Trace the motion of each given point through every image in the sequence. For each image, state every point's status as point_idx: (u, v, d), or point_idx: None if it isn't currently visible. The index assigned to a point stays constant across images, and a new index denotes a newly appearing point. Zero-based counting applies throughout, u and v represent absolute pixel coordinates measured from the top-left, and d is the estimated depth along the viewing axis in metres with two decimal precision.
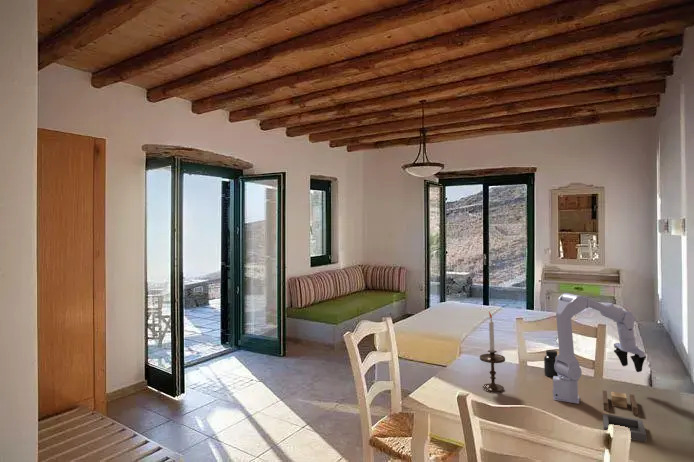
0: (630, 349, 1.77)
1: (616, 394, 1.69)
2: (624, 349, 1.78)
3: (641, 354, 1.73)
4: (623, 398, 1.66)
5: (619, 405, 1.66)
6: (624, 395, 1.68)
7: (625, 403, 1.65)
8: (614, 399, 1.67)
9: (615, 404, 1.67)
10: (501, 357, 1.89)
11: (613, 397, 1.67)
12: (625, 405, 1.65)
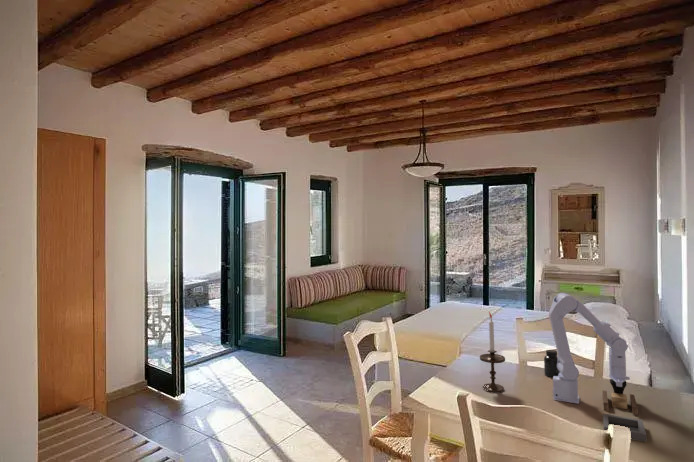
0: (614, 377, 1.69)
1: (616, 395, 1.68)
2: (610, 375, 1.71)
3: (617, 383, 1.65)
4: (623, 399, 1.64)
5: (619, 406, 1.65)
6: (624, 396, 1.66)
7: (625, 404, 1.64)
8: (614, 400, 1.66)
9: (615, 405, 1.66)
10: (501, 357, 1.89)
11: (613, 398, 1.66)
12: (625, 406, 1.64)
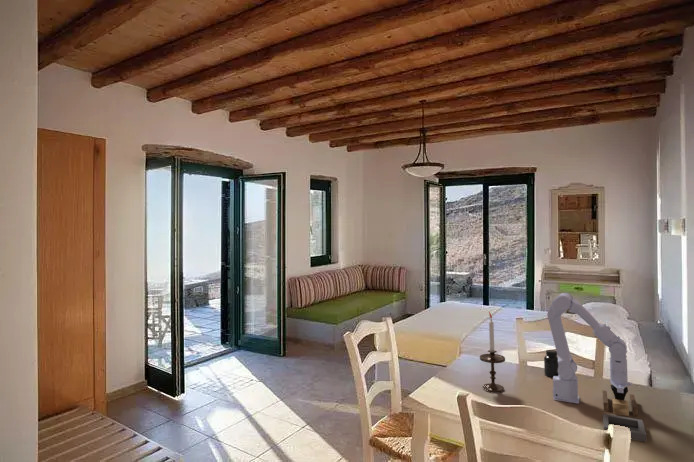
0: (615, 382, 1.63)
1: (617, 401, 1.62)
2: (610, 381, 1.65)
3: (618, 389, 1.58)
4: (625, 406, 1.58)
5: (621, 413, 1.59)
6: (626, 402, 1.60)
7: (627, 411, 1.58)
8: (615, 406, 1.60)
9: (616, 412, 1.60)
10: (501, 357, 1.89)
11: (614, 404, 1.60)
12: (627, 413, 1.58)
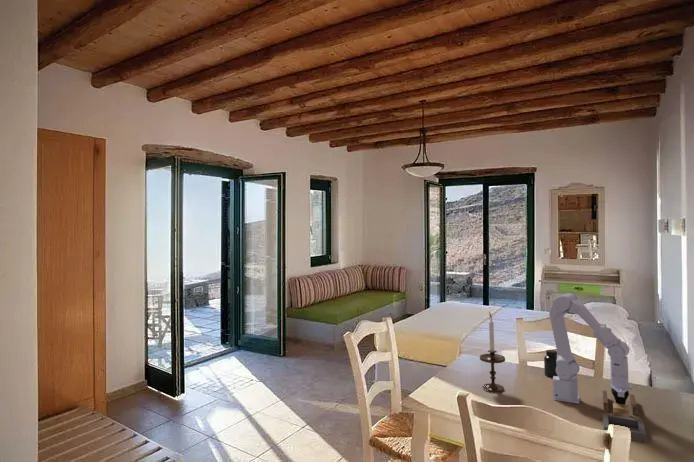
0: (616, 386, 1.59)
1: (618, 405, 1.58)
2: (611, 384, 1.61)
3: (619, 393, 1.55)
4: (625, 410, 1.54)
5: None
6: (627, 407, 1.56)
7: (627, 415, 1.54)
8: (616, 411, 1.56)
9: None
10: (501, 357, 1.89)
11: (615, 409, 1.56)
12: None
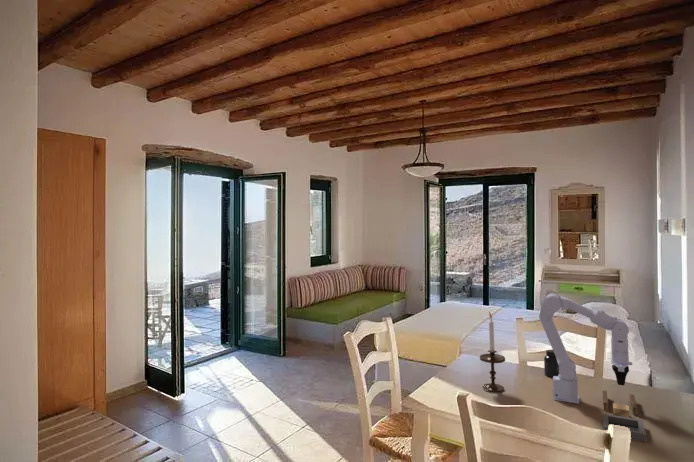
0: (616, 362, 1.65)
1: (618, 406, 1.58)
2: (612, 361, 1.67)
3: (619, 368, 1.60)
4: (625, 411, 1.54)
5: None
6: (627, 407, 1.56)
7: (627, 416, 1.54)
8: (616, 411, 1.56)
9: None
10: (501, 357, 1.89)
11: (615, 409, 1.56)
12: None
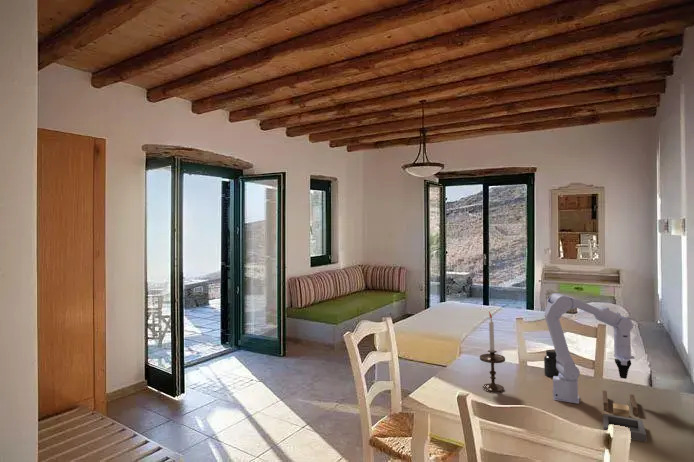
0: (619, 356, 1.70)
1: (618, 406, 1.58)
2: (614, 355, 1.72)
3: (622, 362, 1.66)
4: (625, 411, 1.54)
5: None
6: (627, 407, 1.56)
7: (627, 416, 1.54)
8: (616, 411, 1.56)
9: None
10: (501, 357, 1.89)
11: (614, 409, 1.56)
12: None
